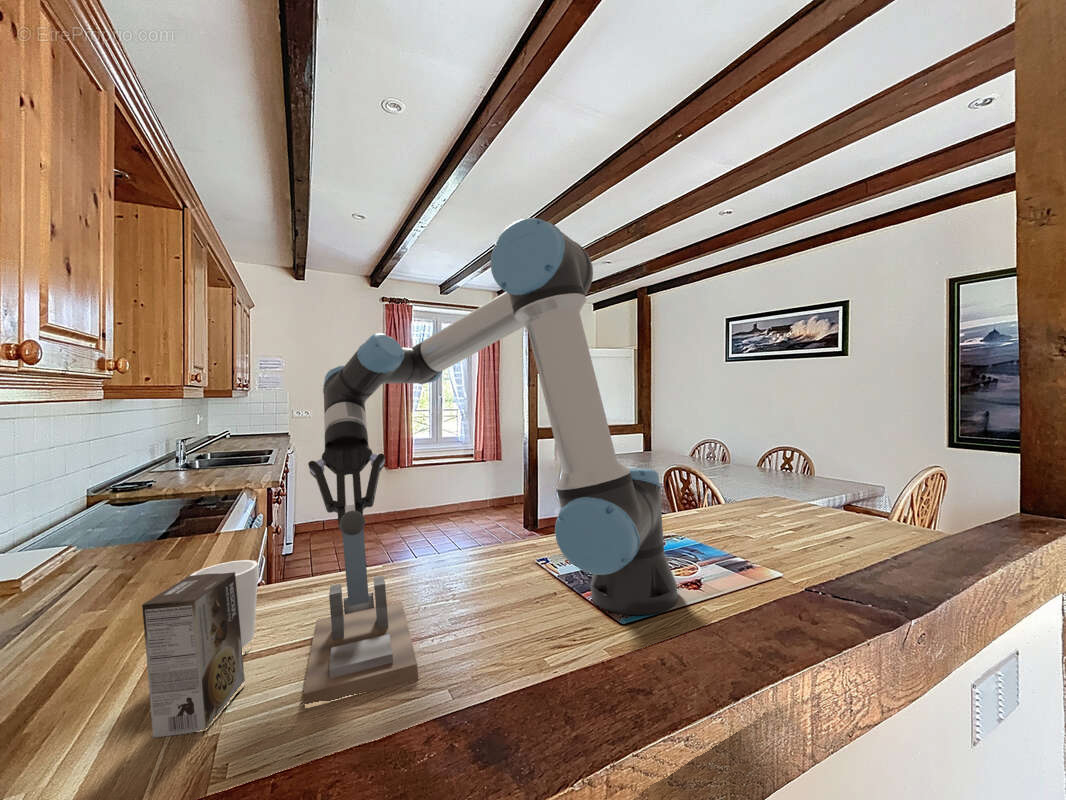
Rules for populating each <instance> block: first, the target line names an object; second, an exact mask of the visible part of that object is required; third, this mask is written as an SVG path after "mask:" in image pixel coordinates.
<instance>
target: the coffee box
mask: <svg viewBox="0 0 1066 800" xmlns="http://www.w3.org/2000/svg"><path fill="white" fill-rule="evenodd" d="M141 609H142V618H143V630H144V631H143V632H144V633H143V634H144V643H145V656H146V664H147V665H146V666H147V667H146V668H147V678H148V679H147V680H148V681H147V682H148V693H149V704H150V714H151V717H150V718H151V725H152V726H151V728H152V737H153V738H162V737H171V736H178V735H188V734H187V733H189V734H192V733H191V732H196V731H200V730H205V729H206V728H207V727H208V726H209V724H210V723H211V722H212V721H213V719H214V718H215V717H216V716H217V715H218V714H219V713H220V711H221V710H222V709H223V708H224V706H225V705H226V704H227V702H228V701H229V700H230V698H231V697H232V696H233V694H234V693H235V692H236V691H237V689H238V688H239V687H240V686H241V684H242V683H243V682H244V681H245V682H246V679H245V668H244V658H243V657H244V655H242V645H241V632H240V621H239V611H238V599H237V588H236V577H235V572H232V573H223V574H219V573H216V574H202V575H193V576H190V575H189V576H186V577H185V578H183V579H182V580H180V581H178V582H176V583H174V585H172V586H170V587H169V588H167V589H165V590H164V591H161V593H159V594H156V596H153V597H152V598H151V599H149V600H148V601H146V602H144V603H142V605H141Z"/></svg>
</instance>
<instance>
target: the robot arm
mask: <svg viewBox="0 0 1066 800" xmlns="http://www.w3.org/2000/svg"><path fill="white" fill-rule="evenodd" d="M490 270H491V274H492V277H493V279H494V281H495V283H496V284H497V285H498V286H499V287H500V288H501V290H502V291H504V292H503V293H502V294H499V295H498V296H496V297H495V298H493V299H491V300H490V301H488V302H485V304H483V305H481V306H479V307H478V308H476V309H475V310H473V311H471V312H469V313H468V314H466V315H464V316H463V317H461V318H460V319H458V320H456V321H455V322H453V323H451V324H450V325H448V326H446V327H445V328H443V329H441V330H439V331H438V332H436V333H434V334H433V335H431V336H429V337H427V338H426V339H425V340H423V341H421V342H419V343H418V344H415V345H413V346H412V347H402V345H400V343H399V342H398V341H397V340H395V339H394V338H393V337H392V336H387V334H386V333H374V334H372V335H371V336H370V337H368V339H367V340H366V341H365V342H364V343H362V344H361V345H360V346H359V347H358V349H357V350H356V352H355V353H354V354H353V355H352V356H351V358H350V359H349V360H348V361H347V362H346V364H345V365H338V366H336V367H334V368H331V369H329V370H328V372H326V375H325V377H324V382H323V388H322V389H323V390H322V393H323V409H324V410H323V414H324V416H323V417H324V418H323V419H324V420H323V421H324V423H323V424H324V451H323V453H322V454H321V458H320V459H318V460H316V461H315V460H310V461H309V462H308V463H307V465H308V470H309V473H310V474H311V476H312V478H315V480H316V482H317V486H318V488H319V491H320V495H321V498H322V501H323V503H324V507H325V510H326V512H327V513H329V514H330V513H337V524H338V529H339V531H342V530H341V529H340V519H341V517H342V516H343V515H344V514H345V513H346V512H349V511H358V512H360V513H361V514H362V515H363V516H364V511H365V509H367V508H373V506H374V505H375V504H374V502H375V499H376V498H375V497H376V491H377V489H378V483H379V478H380V473H381V472H382V470H383V468H384V467H385V464H386V463H385V461H386V459H385V457H386V456H385V454H383V453H379V454H377V453H373V450H372V448H370V446H369V436H368V435H369V434H368V425H367V424H368V423H367V414H366V401H367V400H368V399H369V398H370V397H371V396H372V395H373V394H374V393H375V392H376V391H377V390H378V389H379V388H380V387H381V386H382V385H384V384H420V385H425V384H428V383H433V382H436V381H438V380H439V378H440V377H441V375H442V373H443V371H444V370H447V369H448V368H450V367H453V366H454V365H456V364H457V363H459V362H461V361H463V360H465V359H467V358H469V357H470V356H472V355H474V354H476V353H478V352H480V351H482V350H484V349H486V348H487V347H489V346H491V345H493V344H495V343H496V342H498V341H500V340H503V339H504V338H505V337H508V336H510V335H511V334H513V333H515V332H516V331H518V330H520V329H523V328H524V327H526V329H527V332H528V335H529V340H530V341H529V342H530V345H531V349H532V353H533V356H534V361H535V364H536V368H537V374H538V378H539V383H540V386H541V390H542V394H543V399H544V402H545V407H546V409H547V414H548V419H549V422H550V426H551V431H552V436H553V439H554V442H555V443H554V444H555V448H556V451H557V455H558V458H559V459H558V461H559V465H560V469H561V472H562V475H561V477H560V479H559V480H558V482H557V484H556V486H555V489H556V491H557V492H556V493H557V497H558V502H559V506H560V511H559V513H558V516H557V518H556V520H555V525H554V534H555V540H556V543H557V546H558V548H559V550H560V552H561V554H562V555H563V556H564V557H565V559H567V561H568V562H569V563H570V564H571V565H574V566H575V567H576V568H579V570H581V571H582V572H585V573H588V574H591V575H592V578H591V582H590V595H591V599H592V601H593V602H594V604H595V605H597V606H598V607H600V608H601V609H603V610H606V611H608V612H610V613H611V612H612V613H615V614H621V615H628V616H630V615H632V616H643V615H653V614H658V613H662V612H664V611H667V610H669V609H670V608H672V607H673V606H674V605H675V604H676V603H677V601H678V585H677V581H676V579H675V577H674V575H673V572H672V570H671V566H670V565H669V562H668V559H667V556H666V554H665V545H664V543H665V541H664V530H663V529H664V527H663V514H662V513H663V512H662V500H661V499H662V498H661V488H662V485H661V483H660V476H659V474H658V472H657V470H655V469H653V468H644V467H643V468H641V467H639V468H637V467H634V468H633V467H626V466H625V465H624V464H622V463H621V462H619V461H618V459H617V455H616V451H615V447H614V444H613V439H612V435H611V432H610V428H609V423H608V420H607V417H606V416H607V415H606V413H605V408H604V404H603V398H602V396H601V392H600V388H599V384H598V381H597V377H596V373H595V368H594V364H593V360H592V357H591V353H590V349H589V345H588V342H587V336H586V333H585V329H584V325H583V321H582V317H581V314H580V313H581V310H582V308H583V307H584V305H585V303H586V300H587V298H586V296H587V294H588V292H589V290H590V288H591V286H592V282H593V277H594V268H593V263H592V259H591V258H590V255H589V254H588V252H587V251H586V250H585V248H583V246H582V245H580V244H579V243H578V242H576V241H574V240H573V239H571V238H570V237H569V236H567V235H566V234H565V233H564V232H562V231H561V229H559V227H557V226H556V225H555V224H553V223H551V222H549V221H545V220H544V219H540V218H537V217H536V218H535V217H529V218H528V217H527V218H522V219H519V220H517V221H514V222H513V223H512V224H510V225H509V226H507V227H506V228H505V229H504V230H503V231H502V232H501V234H500V235H499V236H498V239H497V241H496V243H495V244H494V245H493V248H492V252H491V255H490ZM369 462H370V463H371V464H370V465H371V468H370V474H369V479H368V484H367V487H366V493H365V496H364V497H362V495H363V494H362V485H361V483H362V482H361V472H362V471H363V470H364V468H365V467H366V466H367V465H368V464H369ZM325 467H327V468H328V469H329V470H330V471H331V472H332V473H333V474H334V475H336V500H334V499H333V496H332V493H331V489H330V488H329V484H328V481H327V479H326V476H325V473H324V472H325ZM347 475H352V486H353V502H354V503H353V504H350V505H347V502H346V501H347V499H346V477H345V476H347Z"/></svg>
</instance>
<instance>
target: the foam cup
mask: <svg viewBox="0 0 1066 800" xmlns="http://www.w3.org/2000/svg"><path fill="white" fill-rule="evenodd" d="M232 572H235V577H236V588H237V599H238V611H239V621H240V632H241V645H242V647H244V646H245V645H246V644H247V643H248V642H250V641H251V640H252V638H253V636H254V637H255V626H256V625H255V624H256V613H257V611H256V609H257V596H258V584H259V583H258V581H259V580H260V571H259V563H258V562H257V561H256V560H252V559H251V560H250V559H243V560H232V561H227V562H222V563H221V562H220V563H218V564H214V565H211V566H207V567H204V568H201V569H199V570H197V571H195V572H193V573H191V574H190V575H189V576H193V575H202V574H216V573H219V574H223V573H232Z"/></svg>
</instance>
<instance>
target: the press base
mask: <svg viewBox="0 0 1066 800" xmlns="http://www.w3.org/2000/svg"><path fill="white" fill-rule="evenodd" d="M373 585H374V586H373V588H374V598H375V599H374V600H375V601H374V604H375V606H374V608H373V609H368V610H363V611H359V612H354V613H349V614H345V613H344V601H343V591H342V583H337V584H333V585H330V587H329V593H328V596H329V610H330V616H329V617H324V618H323V617H322V618H319V619H316V620H315V624H314V625H315V626H314V629H313V630H314V631H313V635H312V636H313V637H312V641H311V642H312V643H311V648H310V652H309V659H308V664H307V665H308V666H307V671H306V676H305V682H304V687H303V695H302V697H303V705H304V704H309V703H313V702H319V701H331V700H335V699H339V698H342V697H345V696H349V695H354V694H359V693H364V692H367V693H370V692H374V691H377V690H383V689H386V688H390V687H392V686H396V685H400V684H404V683H407V682H410V681H411V682H412V681H414V680H415V681H416V680H418V679H419V670H418V661H417V658H416V654H415V649H414V645H413V642H412V638H411V637H412V636H411V634H410V630H409V625H408V622H407V621H408V620H407V617H406V612H405V609H404V606H403V605H404V604H403V602H402V601H399V602H393V603H389V604H388V602H387V593H386V592H387V591H386V581H385V576H384V575H378V576H373ZM364 694H365V693H364Z"/></svg>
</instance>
